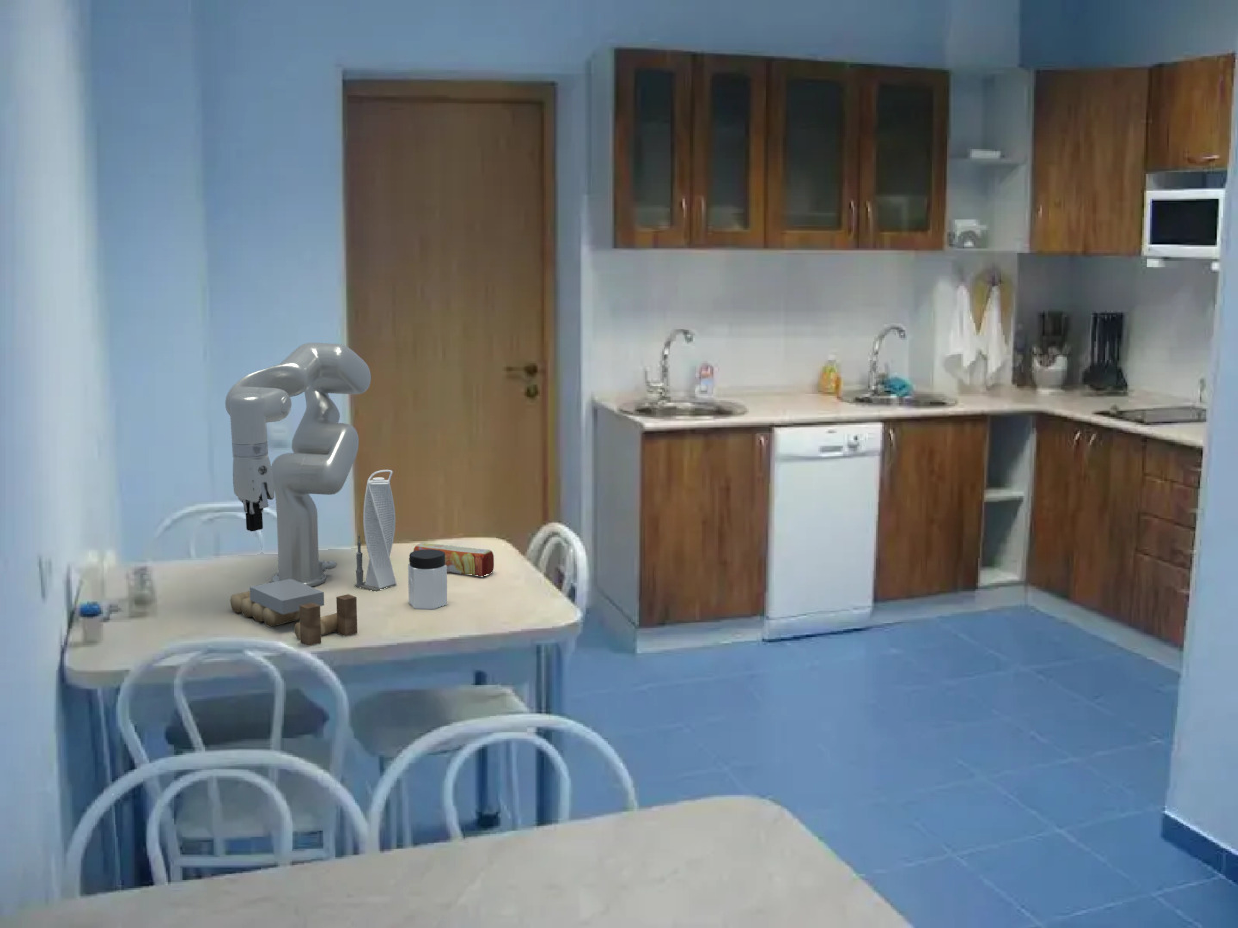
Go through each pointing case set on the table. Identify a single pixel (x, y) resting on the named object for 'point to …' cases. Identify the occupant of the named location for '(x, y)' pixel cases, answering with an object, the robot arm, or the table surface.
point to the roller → (322, 625)
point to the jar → (427, 579)
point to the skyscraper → (377, 535)
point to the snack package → (464, 558)
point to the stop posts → (312, 621)
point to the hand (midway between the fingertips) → (254, 529)
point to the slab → (285, 595)
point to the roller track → (260, 610)
